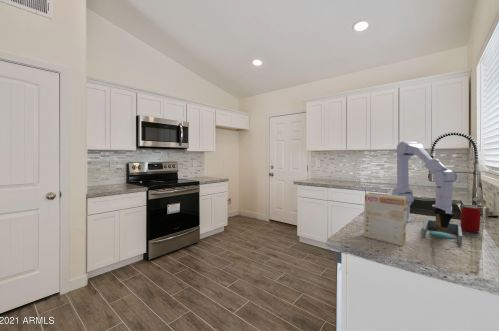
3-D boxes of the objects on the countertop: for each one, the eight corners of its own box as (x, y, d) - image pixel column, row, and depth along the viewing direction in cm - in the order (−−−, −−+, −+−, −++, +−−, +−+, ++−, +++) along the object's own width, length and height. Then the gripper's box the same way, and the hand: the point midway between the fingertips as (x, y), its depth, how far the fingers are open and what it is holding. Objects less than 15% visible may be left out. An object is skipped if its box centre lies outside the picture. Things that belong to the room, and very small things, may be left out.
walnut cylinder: (434, 228, 109) (434, 213, 109) (446, 229, 107) (446, 214, 107) (437, 230, 105) (437, 215, 105) (450, 232, 103) (450, 216, 103)
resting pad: (430, 230, 112) (430, 230, 112) (454, 235, 107) (454, 234, 107) (428, 235, 106) (428, 234, 106) (455, 240, 100) (455, 239, 100)
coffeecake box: (406, 241, 99) (408, 196, 97) (402, 246, 94) (404, 198, 92) (368, 232, 109) (369, 192, 108) (363, 236, 104) (364, 194, 103)
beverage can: (479, 230, 113) (480, 206, 112) (479, 234, 108) (481, 208, 107) (460, 227, 117) (461, 204, 116) (460, 230, 112) (461, 206, 112)
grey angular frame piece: (425, 227, 118) (426, 219, 118) (460, 232, 109) (460, 224, 109) (422, 237, 103) (422, 229, 103) (461, 245, 94) (462, 236, 94)
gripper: (428, 193, 113) (427, 220, 114) (438, 198, 100) (436, 229, 101) (446, 194, 110) (445, 222, 111) (459, 199, 97) (457, 231, 98)
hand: (442, 225), depth 106 cm, fingers closed on walnut cylinder, 4 cm apart
